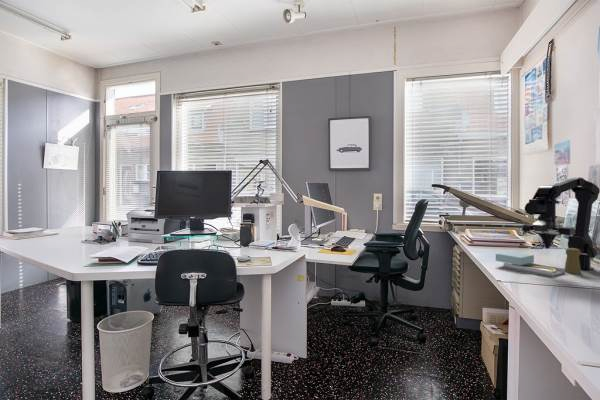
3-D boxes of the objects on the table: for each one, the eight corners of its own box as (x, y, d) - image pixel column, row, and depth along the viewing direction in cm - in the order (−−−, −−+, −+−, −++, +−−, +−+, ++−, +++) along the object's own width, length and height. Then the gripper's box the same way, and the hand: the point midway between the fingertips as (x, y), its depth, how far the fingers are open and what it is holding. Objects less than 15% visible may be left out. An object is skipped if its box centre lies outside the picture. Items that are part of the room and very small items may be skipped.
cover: (508, 258, 167) (508, 251, 167) (533, 262, 157) (533, 255, 157) (495, 260, 161) (495, 253, 161) (521, 265, 151) (521, 257, 151)
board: (516, 264, 164) (516, 260, 164) (564, 273, 147) (564, 268, 147) (503, 268, 158) (503, 263, 158) (551, 277, 141) (551, 271, 141)
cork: (584, 274, 145) (585, 249, 144) (568, 274, 146) (569, 249, 146) (576, 271, 151) (576, 247, 150) (561, 270, 152) (561, 247, 152)
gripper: (515, 213, 152) (515, 247, 153) (563, 216, 136) (563, 253, 136) (528, 212, 158) (528, 244, 158) (576, 214, 141) (575, 250, 142)
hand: (547, 248), depth 149 cm, fingers closed
